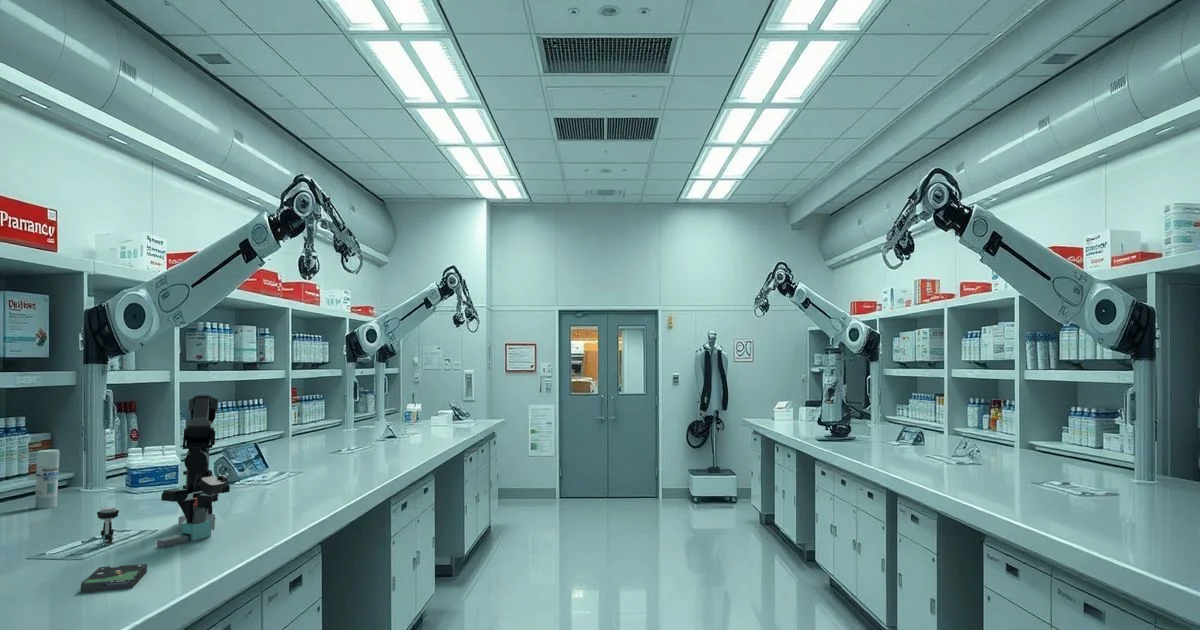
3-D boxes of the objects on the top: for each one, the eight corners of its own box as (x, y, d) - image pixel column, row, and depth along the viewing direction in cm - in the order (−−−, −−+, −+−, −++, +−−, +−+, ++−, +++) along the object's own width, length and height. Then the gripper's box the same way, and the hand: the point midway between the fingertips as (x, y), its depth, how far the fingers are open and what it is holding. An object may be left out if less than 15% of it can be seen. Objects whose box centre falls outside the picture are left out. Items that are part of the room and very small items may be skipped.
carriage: (192, 540, 217) (193, 510, 218) (179, 539, 219) (180, 509, 220) (210, 536, 223) (211, 507, 223) (197, 534, 225) (198, 505, 225)
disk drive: (97, 578, 183) (79, 595, 169) (98, 567, 183) (80, 582, 169) (147, 574, 186) (133, 590, 172) (147, 563, 187) (133, 578, 173)
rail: (164, 548, 210) (164, 540, 210) (156, 547, 211) (157, 539, 211) (210, 536, 224) (211, 530, 224) (203, 536, 225) (203, 529, 225)
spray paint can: (50, 504, 275) (52, 449, 276) (61, 506, 272) (63, 450, 273) (30, 507, 269) (33, 451, 270) (41, 509, 266) (44, 451, 268)
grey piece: (177, 532, 230) (178, 507, 231) (198, 527, 237) (199, 503, 238) (193, 534, 228) (194, 509, 228) (214, 529, 234) (215, 505, 235)
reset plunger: (191, 506, 232) (191, 498, 233) (197, 505, 235) (198, 497, 235) (196, 507, 231) (196, 499, 232) (203, 506, 234) (203, 497, 234)
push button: (116, 545, 213) (118, 509, 214) (94, 547, 211) (95, 511, 211) (118, 540, 219) (120, 505, 220) (96, 542, 217) (98, 507, 217)
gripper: (189, 473, 210) (187, 530, 209) (244, 464, 228) (242, 517, 227) (160, 470, 215) (158, 526, 214) (217, 462, 232) (215, 514, 231)
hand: (195, 521), depth 221 cm, fingers closed on carriage, 3 cm apart
